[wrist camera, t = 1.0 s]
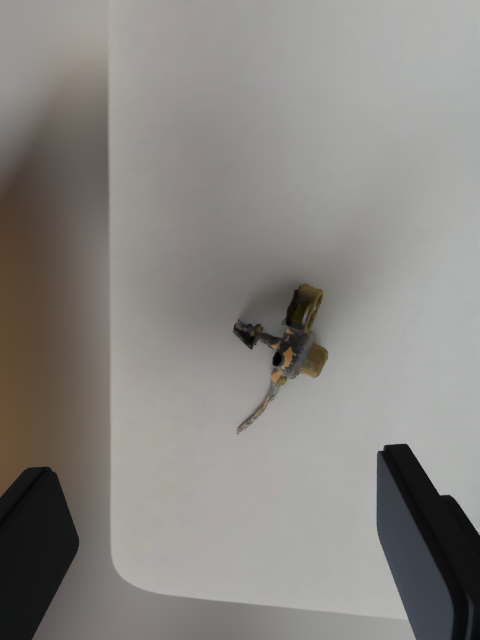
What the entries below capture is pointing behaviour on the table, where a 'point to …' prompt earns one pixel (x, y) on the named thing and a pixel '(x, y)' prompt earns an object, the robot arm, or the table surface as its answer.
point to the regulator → (289, 343)
